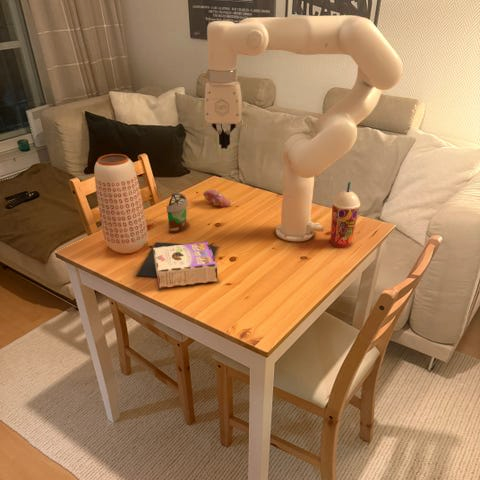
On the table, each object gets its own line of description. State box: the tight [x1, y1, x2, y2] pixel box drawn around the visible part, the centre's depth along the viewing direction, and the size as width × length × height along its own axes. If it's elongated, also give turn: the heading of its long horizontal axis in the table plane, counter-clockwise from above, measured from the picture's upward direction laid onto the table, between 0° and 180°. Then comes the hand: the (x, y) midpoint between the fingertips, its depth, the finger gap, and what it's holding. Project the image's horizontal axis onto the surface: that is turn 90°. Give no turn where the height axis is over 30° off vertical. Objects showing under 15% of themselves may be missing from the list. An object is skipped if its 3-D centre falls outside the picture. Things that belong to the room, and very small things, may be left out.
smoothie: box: [330, 181, 361, 248], centre depth 140 cm, size 8×8×20 cm
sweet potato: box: [203, 188, 231, 207], centre depth 169 cm, size 10×5×7 cm, turn 47°
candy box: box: [152, 241, 218, 289], centre depth 129 cm, size 14×6×16 cm
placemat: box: [136, 242, 218, 279], centre depth 137 cm, size 20×20×1 cm
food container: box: [166, 191, 189, 234], centre depth 153 cm, size 12×6×10 cm, turn 179°
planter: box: [93, 153, 148, 255], centre depth 135 cm, size 13×13×28 cm
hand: (224, 147), depth 131 cm, fingers closed
